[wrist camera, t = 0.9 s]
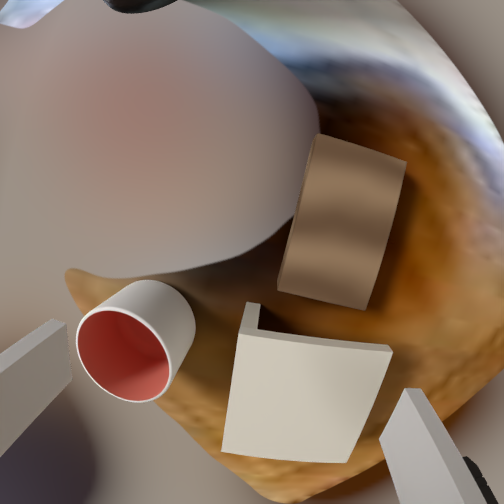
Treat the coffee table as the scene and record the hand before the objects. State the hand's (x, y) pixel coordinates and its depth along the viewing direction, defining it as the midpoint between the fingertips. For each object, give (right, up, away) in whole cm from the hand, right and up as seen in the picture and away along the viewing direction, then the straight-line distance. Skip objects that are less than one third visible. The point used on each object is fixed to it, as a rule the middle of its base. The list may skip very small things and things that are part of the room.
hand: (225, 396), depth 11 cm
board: (+10, +8, +22) cm, 25 cm away
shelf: (+6, -9, +25) cm, 27 cm away
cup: (-10, -2, +25) cm, 27 cm away
